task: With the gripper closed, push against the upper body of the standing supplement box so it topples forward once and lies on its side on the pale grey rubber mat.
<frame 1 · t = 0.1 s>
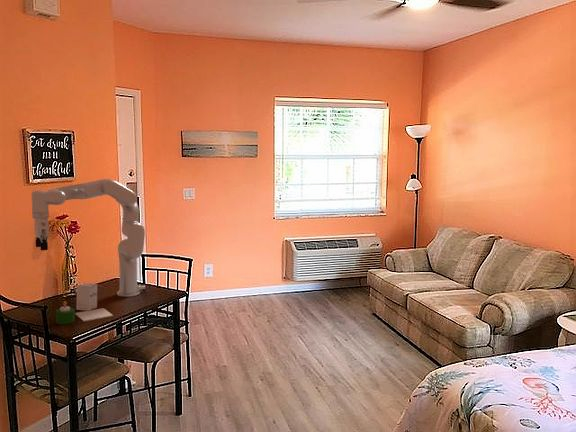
hand: (41, 248, 253), 31 cm above the table, tool pointing down, fingers open, 9 cm apart
supplement box: (86, 309, 256), on the table, touching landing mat
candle: (65, 321, 239), on the table
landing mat: (93, 315, 248), on the table
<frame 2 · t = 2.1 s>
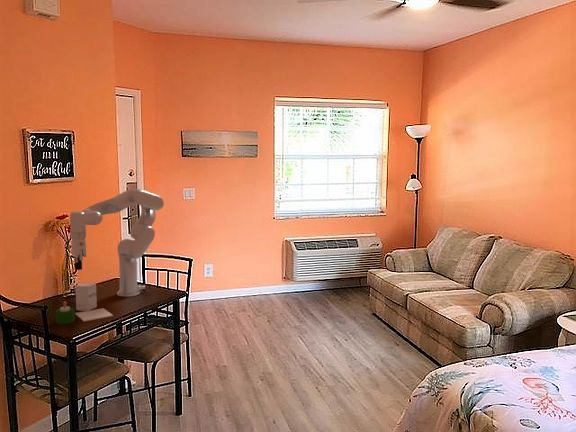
hand: (78, 269, 262), 19 cm above the table, tool pointing down, fingers closed
nothing on the table moved.
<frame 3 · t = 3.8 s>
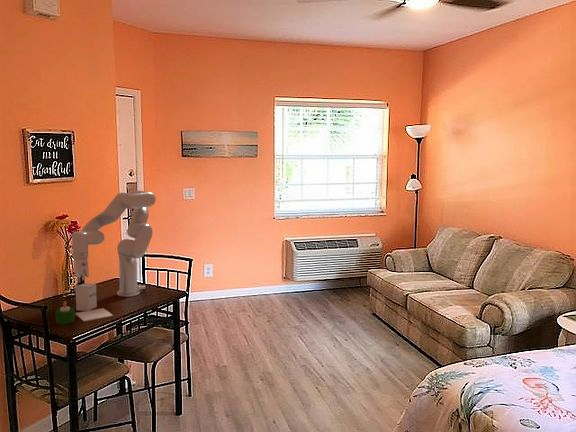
hand: (81, 289, 262), 9 cm above the table, tool pointing down, fingers closed
supplement box: (86, 309, 256), on the table, touching gripper, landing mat
everything else where it was.
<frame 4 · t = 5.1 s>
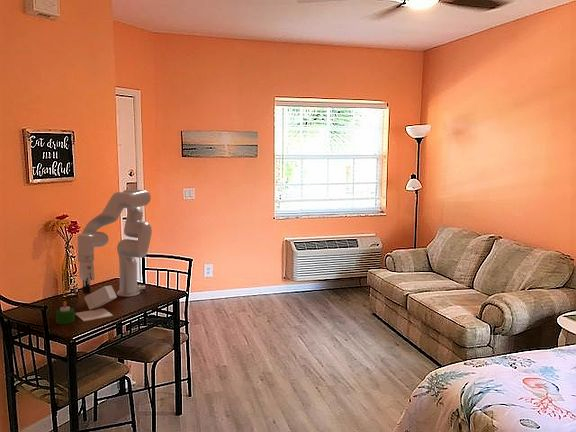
hand: (86, 293, 255), 9 cm above the table, tool pointing down, fingers closed
supplement box: (90, 303, 256), point 3 cm above the table
everything else where it was.
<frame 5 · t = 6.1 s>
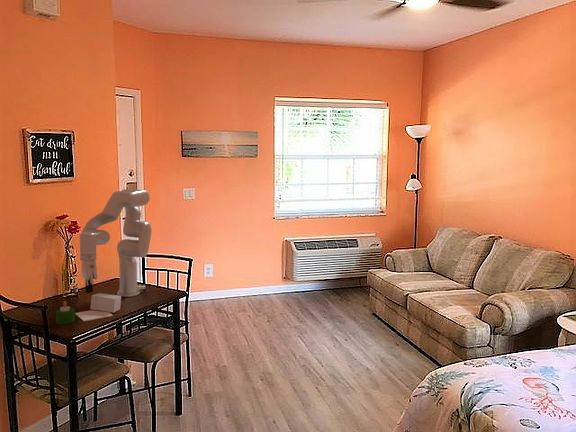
hand: (89, 292, 252), 10 cm above the table, tool pointing down, fingers closed
supplement box: (94, 300, 256), point 5 cm above the table, touching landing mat
everything else where it was.
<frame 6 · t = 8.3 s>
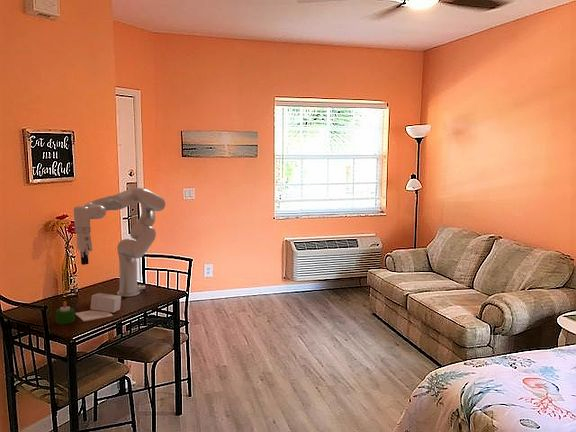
hand: (84, 264, 262), 22 cm above the table, tool pointing down, fingers closed
supplement box: (94, 300, 256), point 5 cm above the table, touching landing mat
everything else where it was.
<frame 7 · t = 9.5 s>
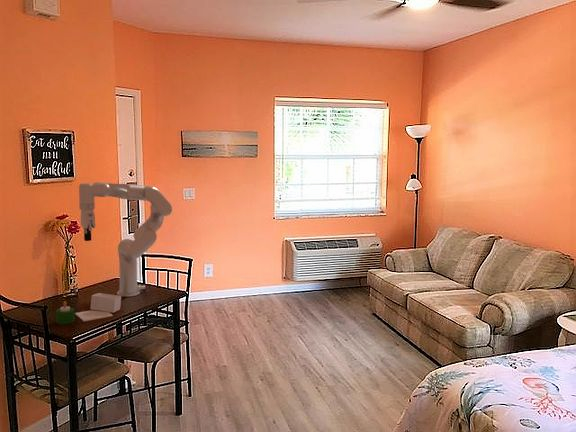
hand: (87, 240, 268), 33 cm above the table, tool pointing down, fingers closed
nothing on the table moved.
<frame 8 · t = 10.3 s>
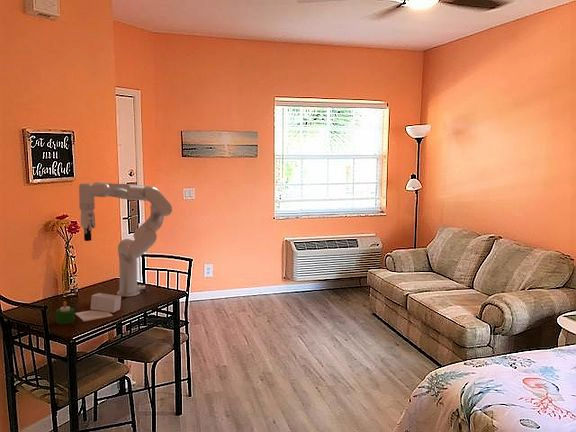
hand: (87, 240, 268), 33 cm above the table, tool pointing down, fingers closed
nothing on the table moved.
at the end: supplement box tilted 94°; supplement box touching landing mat, table; supplement box 9.0 cm from the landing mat (horizontally) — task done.
